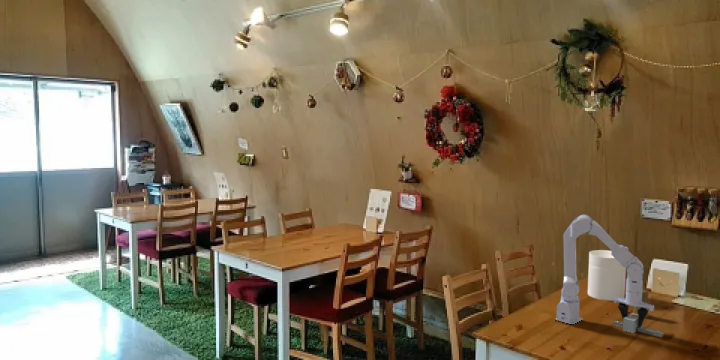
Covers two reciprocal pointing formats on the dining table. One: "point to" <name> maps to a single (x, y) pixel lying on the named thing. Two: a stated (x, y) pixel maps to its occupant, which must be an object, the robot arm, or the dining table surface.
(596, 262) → the canister
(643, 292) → the cork
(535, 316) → the dining table surface
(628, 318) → the block
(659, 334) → the rail
